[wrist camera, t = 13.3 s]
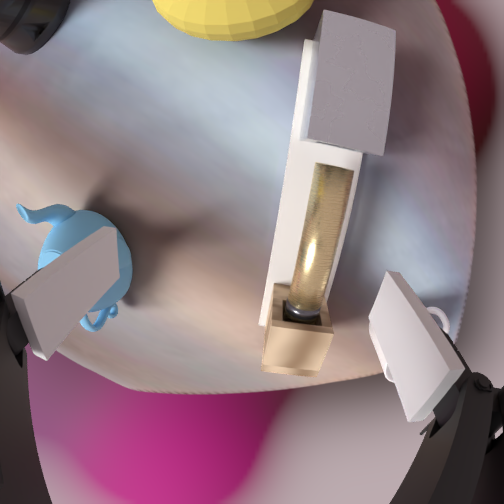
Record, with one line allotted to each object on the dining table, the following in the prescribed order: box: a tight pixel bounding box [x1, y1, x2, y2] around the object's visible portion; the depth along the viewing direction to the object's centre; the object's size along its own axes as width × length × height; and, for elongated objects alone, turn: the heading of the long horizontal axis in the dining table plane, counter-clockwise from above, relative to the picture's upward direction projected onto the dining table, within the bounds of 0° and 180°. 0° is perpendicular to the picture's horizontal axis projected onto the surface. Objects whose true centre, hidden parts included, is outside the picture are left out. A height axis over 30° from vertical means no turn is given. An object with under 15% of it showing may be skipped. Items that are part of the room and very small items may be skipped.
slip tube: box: [283, 162, 354, 325], centre depth 29 cm, size 20×4×4 cm, turn 172°
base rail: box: [259, 39, 363, 326], centre depth 33 cm, size 9×40×1 cm, turn 172°
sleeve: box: [299, 10, 396, 156], centre depth 24 cm, size 7×13×10 cm, turn 172°
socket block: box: [261, 283, 334, 377], centre depth 35 cm, size 7×7×10 cm
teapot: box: [16, 204, 133, 332], centre depth 34 cm, size 17×19×12 cm
